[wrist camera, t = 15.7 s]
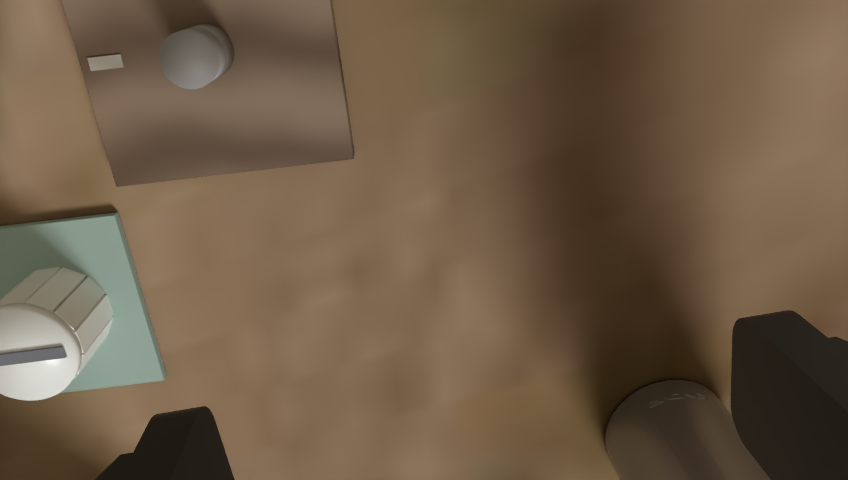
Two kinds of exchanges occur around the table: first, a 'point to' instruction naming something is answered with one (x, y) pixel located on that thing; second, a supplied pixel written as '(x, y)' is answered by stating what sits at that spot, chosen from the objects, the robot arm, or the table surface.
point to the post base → (212, 85)
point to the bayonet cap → (50, 331)
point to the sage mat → (111, 270)
